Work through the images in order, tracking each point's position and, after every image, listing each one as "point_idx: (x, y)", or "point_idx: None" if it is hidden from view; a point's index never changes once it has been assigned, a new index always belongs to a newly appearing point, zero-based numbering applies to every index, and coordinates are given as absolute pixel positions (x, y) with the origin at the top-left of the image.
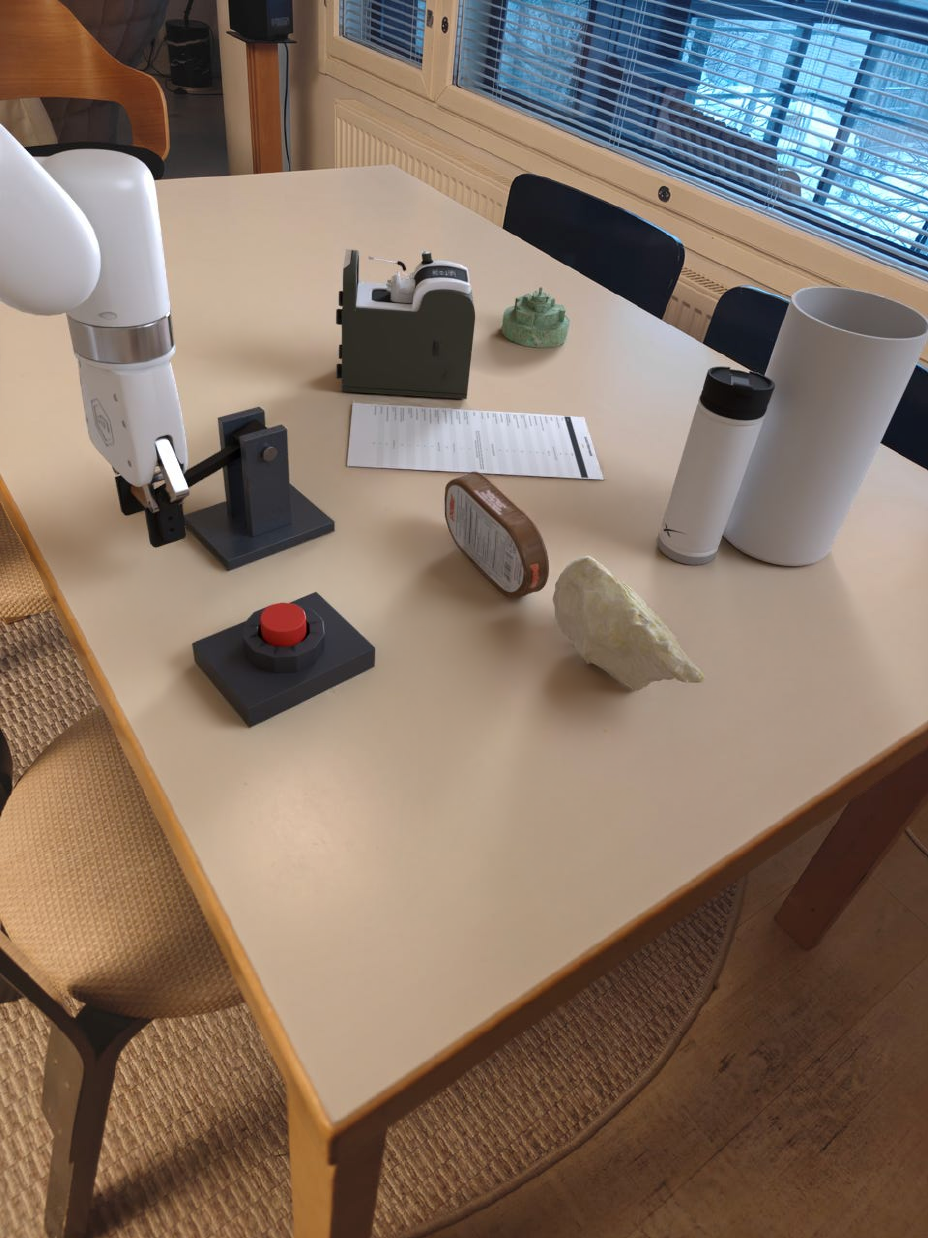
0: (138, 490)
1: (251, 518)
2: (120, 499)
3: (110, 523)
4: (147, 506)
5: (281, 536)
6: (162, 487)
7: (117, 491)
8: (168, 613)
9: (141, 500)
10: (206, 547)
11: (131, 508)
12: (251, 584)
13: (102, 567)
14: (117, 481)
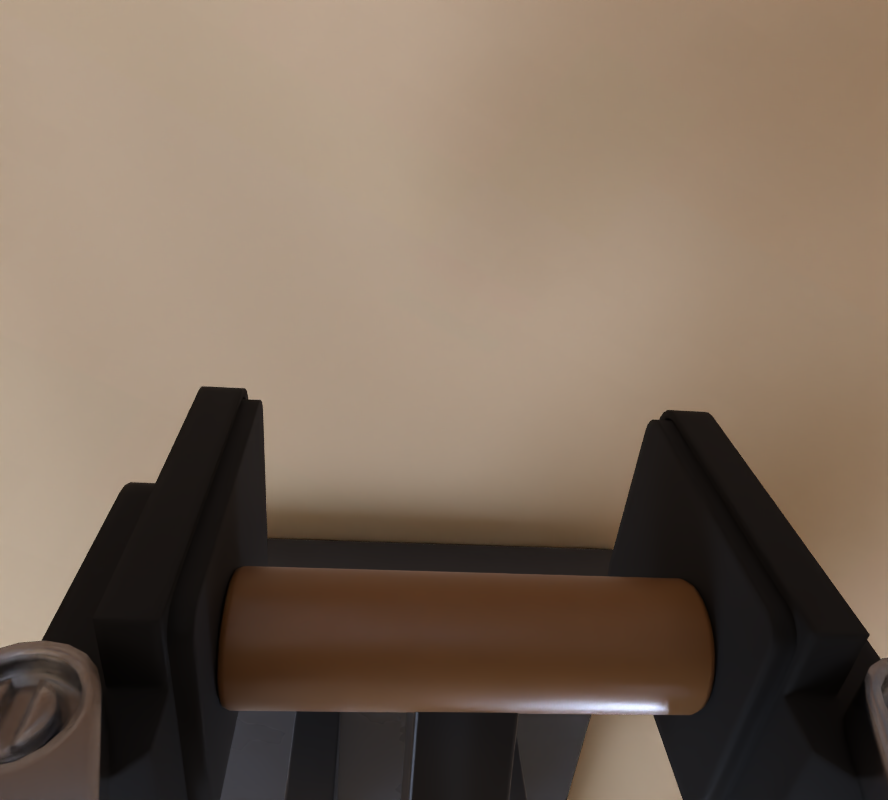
0: (598, 656)
1: (286, 795)
2: (725, 482)
3: (877, 326)
4: (377, 606)
5: (243, 767)
6: (468, 796)
7: (786, 520)
8: (30, 186)
9: (497, 605)
10: (408, 545)
11: (654, 478)
12: (76, 557)
13: (601, 108)
14: (802, 614)
